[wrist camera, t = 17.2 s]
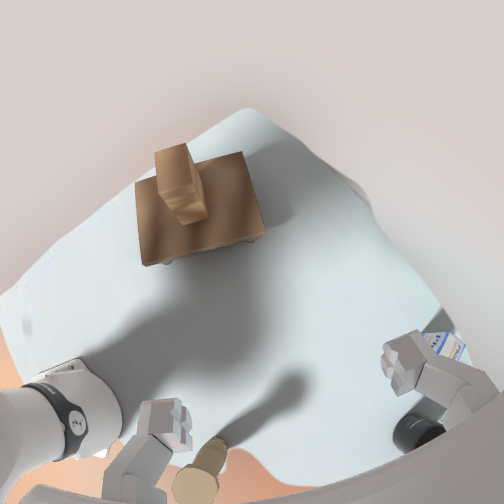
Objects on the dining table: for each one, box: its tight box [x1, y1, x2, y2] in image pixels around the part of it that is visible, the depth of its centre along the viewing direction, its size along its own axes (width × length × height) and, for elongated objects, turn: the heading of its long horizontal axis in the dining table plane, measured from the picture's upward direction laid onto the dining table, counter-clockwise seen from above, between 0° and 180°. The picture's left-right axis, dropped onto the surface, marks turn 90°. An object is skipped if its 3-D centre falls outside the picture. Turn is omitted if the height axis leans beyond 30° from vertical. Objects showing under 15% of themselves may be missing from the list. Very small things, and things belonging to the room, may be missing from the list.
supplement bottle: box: [393, 414, 447, 454], centre depth 28 cm, size 7×7×12 cm
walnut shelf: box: [135, 151, 266, 267], centre depth 43 cm, size 18×14×6 cm
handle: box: [172, 437, 228, 504], centre depth 28 cm, size 5×6×15 cm
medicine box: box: [421, 331, 466, 361], centre depth 33 cm, size 8×4×9 cm, turn 142°
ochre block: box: [155, 143, 209, 226], centre depth 36 cm, size 4×6×10 cm, turn 14°
